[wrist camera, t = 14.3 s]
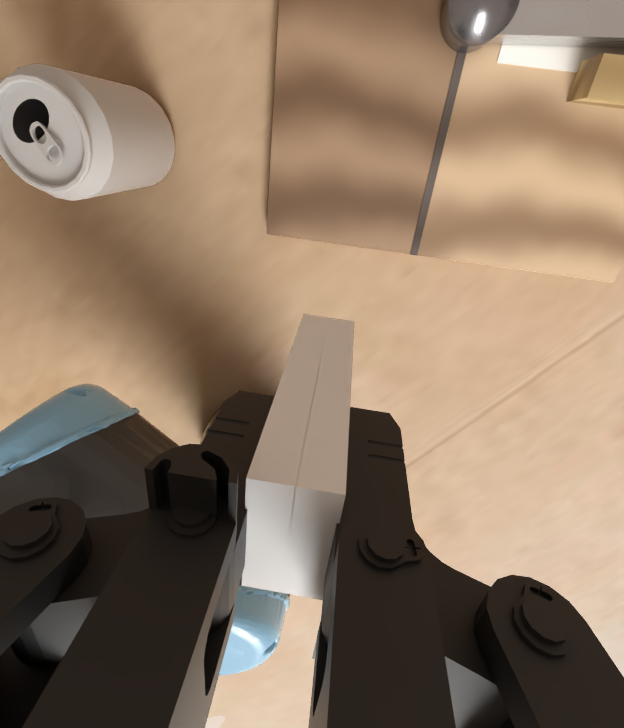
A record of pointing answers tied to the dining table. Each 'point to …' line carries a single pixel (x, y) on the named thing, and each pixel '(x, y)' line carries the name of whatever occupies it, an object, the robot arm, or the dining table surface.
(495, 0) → the bar
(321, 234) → the door board
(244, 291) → the dining table surface
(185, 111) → the dining table surface
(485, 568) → the dining table surface
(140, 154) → the can
